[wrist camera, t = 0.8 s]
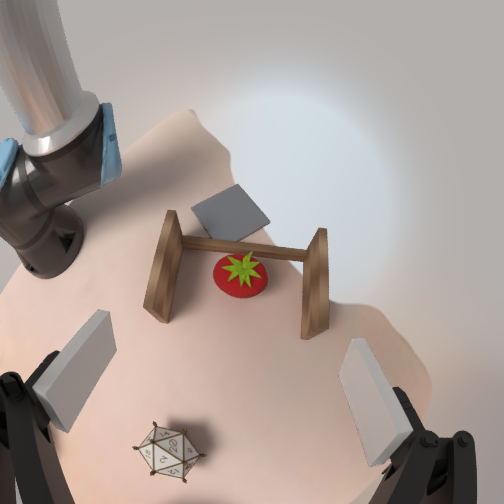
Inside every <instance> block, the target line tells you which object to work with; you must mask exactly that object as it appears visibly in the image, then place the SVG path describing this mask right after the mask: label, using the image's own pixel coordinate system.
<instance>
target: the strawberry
mask: <svg viewBox="0 0 504 504" xmlns="http://www.w3.org/2000/svg"><path fill="white" fill-rule="evenodd" d="M251 254H252V251H251V252H250V253H249V254H248V255H242V254H233V255H228V256H225V257H223V258H222V259H220V260H219V261H218V263H217V264H216V266H215V268H214V271H213V278H214V281H215V283H216V284H217V286H218V287H219V288H220V289H221V290H222V291H224V292H225V293H227V294H228V295H230V296H233V297H236V298H250V297H253V296H255V295H257V294H259V293H261V292H262V291H263V290H264V289H265V287H266V285H267V283H268V277H267V272H266V270H265V268H264V266H263V265H262V264H261V263H260V262H259V261H258V260H256V259H255V258H252V257H251Z"/></svg>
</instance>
